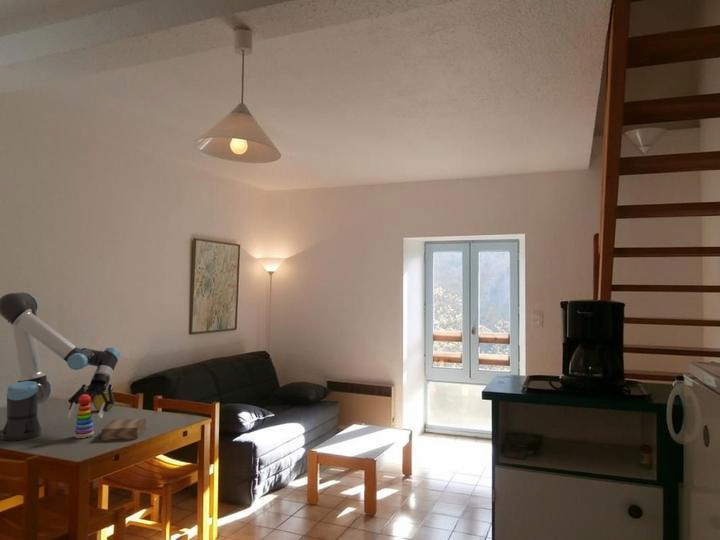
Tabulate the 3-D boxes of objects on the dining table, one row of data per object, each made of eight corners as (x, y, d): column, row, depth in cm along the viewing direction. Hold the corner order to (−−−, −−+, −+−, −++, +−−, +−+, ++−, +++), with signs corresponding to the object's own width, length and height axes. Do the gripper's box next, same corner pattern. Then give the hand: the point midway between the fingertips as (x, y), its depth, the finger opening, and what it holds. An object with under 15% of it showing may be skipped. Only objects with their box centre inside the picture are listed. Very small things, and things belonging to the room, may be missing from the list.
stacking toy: (98, 434, 237) (98, 393, 237) (84, 439, 229) (85, 397, 230) (84, 433, 239) (84, 392, 239) (70, 438, 231) (70, 395, 232)
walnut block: (101, 440, 228) (101, 429, 228) (112, 430, 243) (112, 420, 243) (137, 438, 230) (137, 427, 231) (145, 429, 245) (145, 418, 245)
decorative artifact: (93, 412, 276) (93, 393, 276) (92, 410, 282) (92, 391, 282) (114, 410, 281) (114, 391, 281) (112, 407, 287) (112, 389, 287)
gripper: (130, 381, 251) (115, 421, 236) (78, 381, 251) (60, 421, 236) (125, 372, 246) (109, 412, 231) (72, 372, 246) (53, 412, 231)
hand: (84, 417), depth 233 cm, fingers open, 13 cm apart
